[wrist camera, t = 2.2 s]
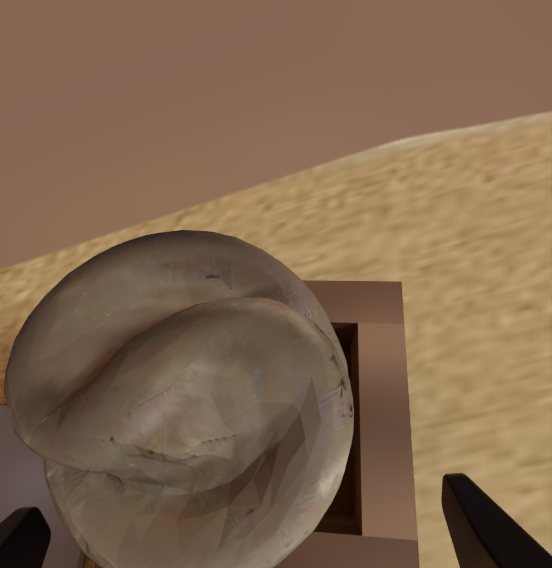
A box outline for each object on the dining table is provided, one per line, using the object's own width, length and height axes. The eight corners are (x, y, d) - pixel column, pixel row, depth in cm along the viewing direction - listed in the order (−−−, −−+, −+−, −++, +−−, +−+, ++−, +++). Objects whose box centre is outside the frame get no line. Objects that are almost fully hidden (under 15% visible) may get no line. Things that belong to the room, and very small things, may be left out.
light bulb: (356, 423, 18) (475, 385, 4) (269, 513, 17) (70, 825, 3) (275, 337, 20) (175, 118, 6) (192, 414, 19) (-141, 357, 5)
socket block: (398, 567, 16) (421, 606, 13) (141, 544, 17) (93, 573, 14) (386, 310, 20) (401, 281, 16) (176, 306, 21) (146, 278, 18)
